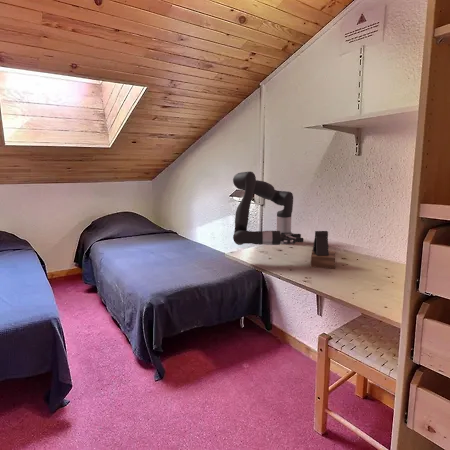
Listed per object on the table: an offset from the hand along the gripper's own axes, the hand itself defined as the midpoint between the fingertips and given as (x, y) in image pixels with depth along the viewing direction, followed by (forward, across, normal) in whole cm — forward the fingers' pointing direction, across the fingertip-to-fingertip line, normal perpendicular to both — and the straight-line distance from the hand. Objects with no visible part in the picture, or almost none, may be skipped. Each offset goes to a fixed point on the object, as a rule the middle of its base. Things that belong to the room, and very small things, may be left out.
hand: (302, 237), depth 187 cm
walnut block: (+11, -1, +14) cm, 18 cm away
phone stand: (+10, 0, +9) cm, 13 cm away
